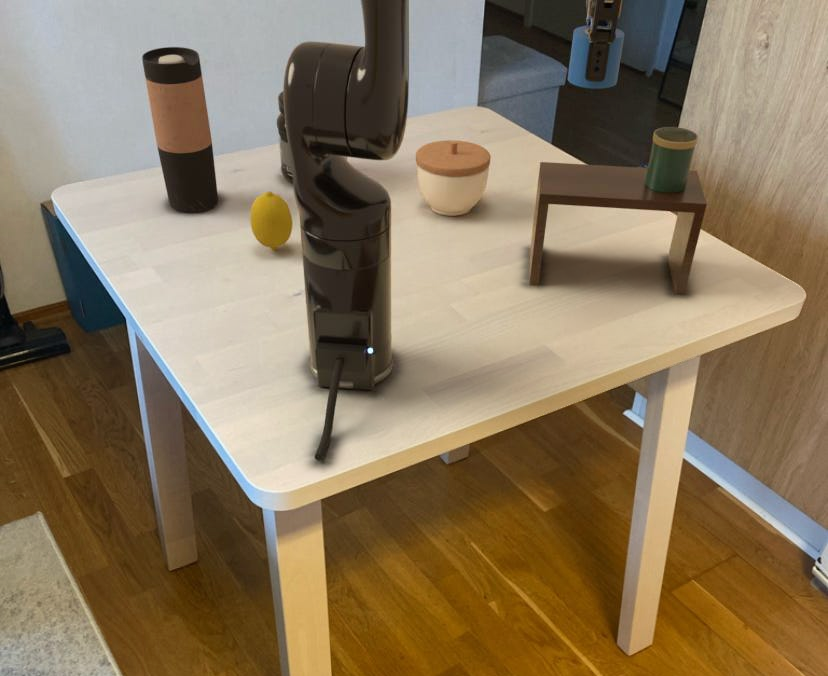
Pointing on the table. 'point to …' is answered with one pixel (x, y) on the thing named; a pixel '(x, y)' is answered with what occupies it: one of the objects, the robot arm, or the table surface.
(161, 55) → the travel mug
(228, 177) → the table surface
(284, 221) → the lemon
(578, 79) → the tape roll
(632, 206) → the shelf
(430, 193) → the trinket box
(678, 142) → the tea tin
